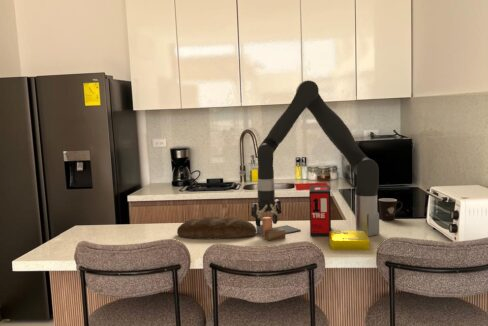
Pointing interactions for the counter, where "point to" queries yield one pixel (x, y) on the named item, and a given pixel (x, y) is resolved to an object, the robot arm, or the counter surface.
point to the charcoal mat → (288, 229)
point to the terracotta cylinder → (266, 224)
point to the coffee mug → (388, 208)
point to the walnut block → (275, 234)
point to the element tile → (349, 240)
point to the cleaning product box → (320, 211)
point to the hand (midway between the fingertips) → (266, 224)
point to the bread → (216, 228)
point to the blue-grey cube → (259, 229)
